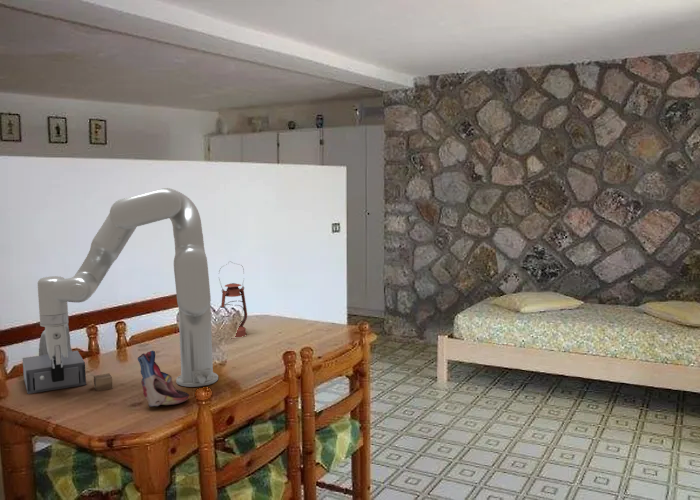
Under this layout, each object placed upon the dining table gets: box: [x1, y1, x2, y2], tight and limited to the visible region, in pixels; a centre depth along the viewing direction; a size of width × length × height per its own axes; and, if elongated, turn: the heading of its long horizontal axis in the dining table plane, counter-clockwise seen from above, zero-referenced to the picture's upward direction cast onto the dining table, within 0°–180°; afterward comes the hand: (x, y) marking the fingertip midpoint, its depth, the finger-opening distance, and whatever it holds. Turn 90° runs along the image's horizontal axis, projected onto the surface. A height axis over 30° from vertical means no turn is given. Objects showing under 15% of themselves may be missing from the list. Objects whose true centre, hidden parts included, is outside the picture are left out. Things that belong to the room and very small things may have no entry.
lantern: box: [218, 260, 248, 338], centre depth 254 cm, size 10×10×30 cm
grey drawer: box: [33, 367, 79, 390], centre depth 197 cm, size 16×12×5 cm
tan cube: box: [93, 373, 114, 392], centre depth 192 cm, size 4×4×4 cm
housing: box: [22, 350, 87, 395], centre depth 198 cm, size 16×16×7 cm
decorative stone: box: [38, 323, 73, 356], centre depth 213 cm, size 11×6×15 cm, turn 148°
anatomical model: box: [137, 350, 190, 407], centre depth 176 cm, size 9×13×15 cm
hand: (58, 380), depth 188 cm, fingers closed
